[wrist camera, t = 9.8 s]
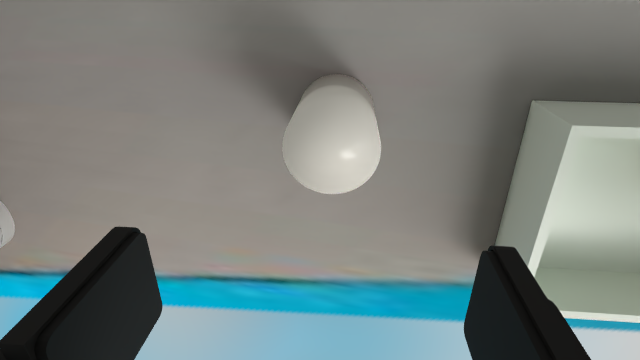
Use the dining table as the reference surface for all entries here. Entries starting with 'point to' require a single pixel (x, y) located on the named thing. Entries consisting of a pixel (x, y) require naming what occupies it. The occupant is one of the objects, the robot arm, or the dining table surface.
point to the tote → (579, 207)
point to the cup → (6, 225)
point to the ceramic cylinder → (333, 136)
